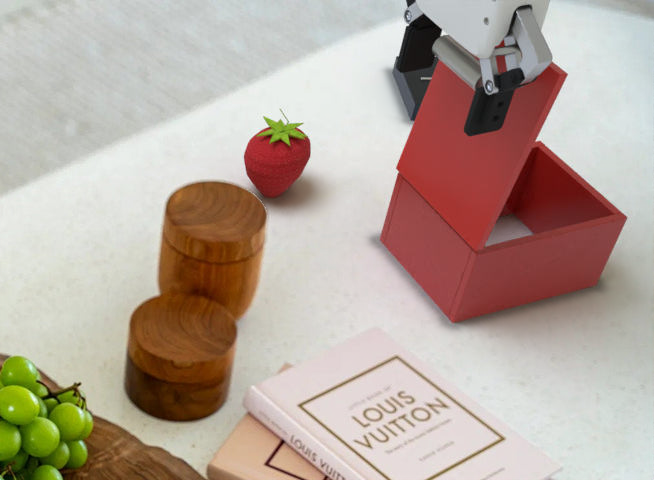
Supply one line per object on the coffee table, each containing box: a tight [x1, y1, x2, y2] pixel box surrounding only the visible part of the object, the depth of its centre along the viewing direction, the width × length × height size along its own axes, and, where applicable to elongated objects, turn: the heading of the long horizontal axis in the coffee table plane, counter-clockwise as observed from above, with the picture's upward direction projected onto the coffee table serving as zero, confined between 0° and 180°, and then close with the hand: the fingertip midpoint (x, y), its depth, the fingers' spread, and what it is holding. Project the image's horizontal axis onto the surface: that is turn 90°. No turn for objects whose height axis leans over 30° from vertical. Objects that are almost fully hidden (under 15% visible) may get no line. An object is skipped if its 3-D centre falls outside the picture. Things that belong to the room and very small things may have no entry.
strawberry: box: [243, 108, 312, 199], centre depth 113 cm, size 6×8×10 cm
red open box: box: [379, 140, 628, 324], centre depth 106 cm, size 16×13×9 cm
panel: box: [391, 55, 439, 122], centre depth 128 cm, size 12×10×3 cm
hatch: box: [395, 34, 569, 251], centre depth 95 cm, size 16×13×5 cm
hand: (446, 99), depth 92 cm, fingers open, 9 cm apart
